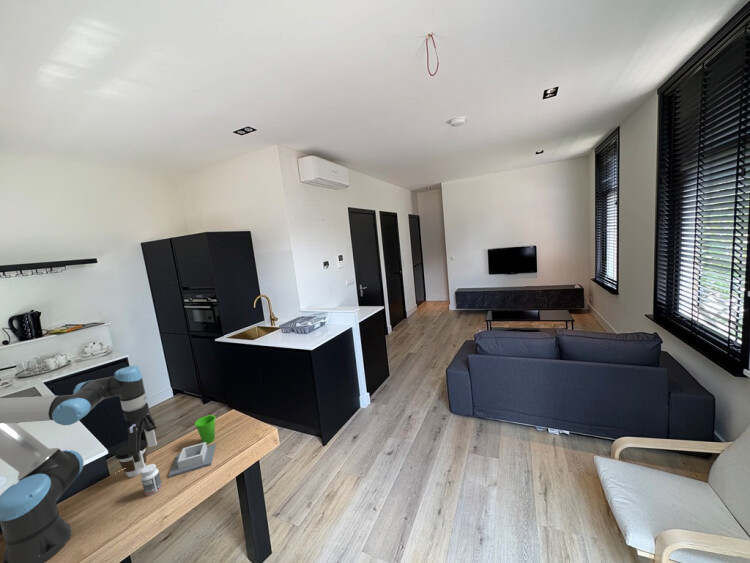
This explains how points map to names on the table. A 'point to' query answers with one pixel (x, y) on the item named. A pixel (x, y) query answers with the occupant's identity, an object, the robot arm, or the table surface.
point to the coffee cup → (130, 459)
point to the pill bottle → (151, 479)
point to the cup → (206, 428)
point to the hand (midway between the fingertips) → (146, 456)
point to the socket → (193, 458)
